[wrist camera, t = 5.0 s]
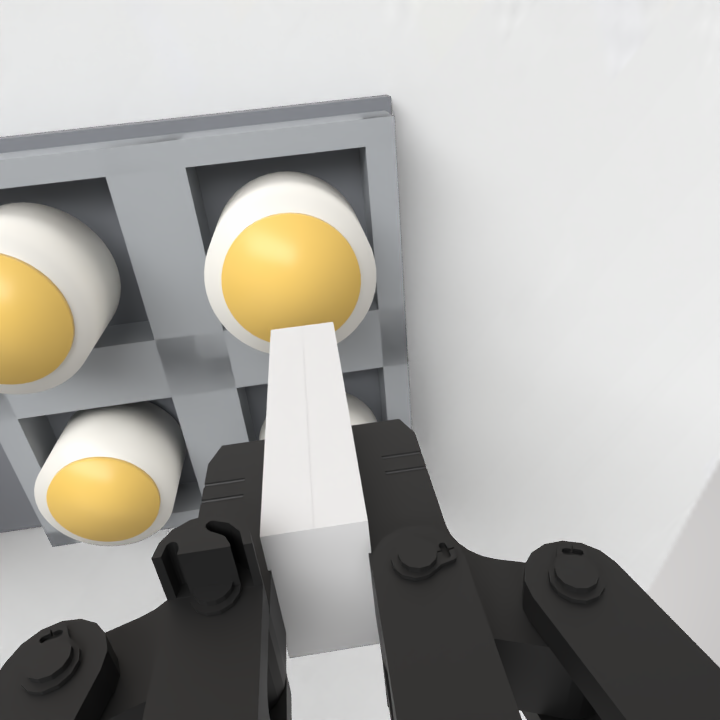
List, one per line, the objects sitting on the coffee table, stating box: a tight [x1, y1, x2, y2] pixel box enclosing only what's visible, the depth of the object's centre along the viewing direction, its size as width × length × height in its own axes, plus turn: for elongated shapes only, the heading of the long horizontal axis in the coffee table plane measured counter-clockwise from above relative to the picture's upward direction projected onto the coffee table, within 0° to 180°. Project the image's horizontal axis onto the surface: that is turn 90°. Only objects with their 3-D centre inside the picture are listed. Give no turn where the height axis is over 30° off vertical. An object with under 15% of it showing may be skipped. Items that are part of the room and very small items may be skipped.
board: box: [0, 95, 412, 547], centre depth 27 cm, size 25×20×3 cm
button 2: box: [34, 401, 186, 546], centre depth 27 cm, size 6×6×4 cm
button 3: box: [204, 171, 376, 354], centre depth 21 cm, size 6×6×4 cm
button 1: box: [0, 202, 121, 394], centre depth 21 cm, size 6×6×4 cm
